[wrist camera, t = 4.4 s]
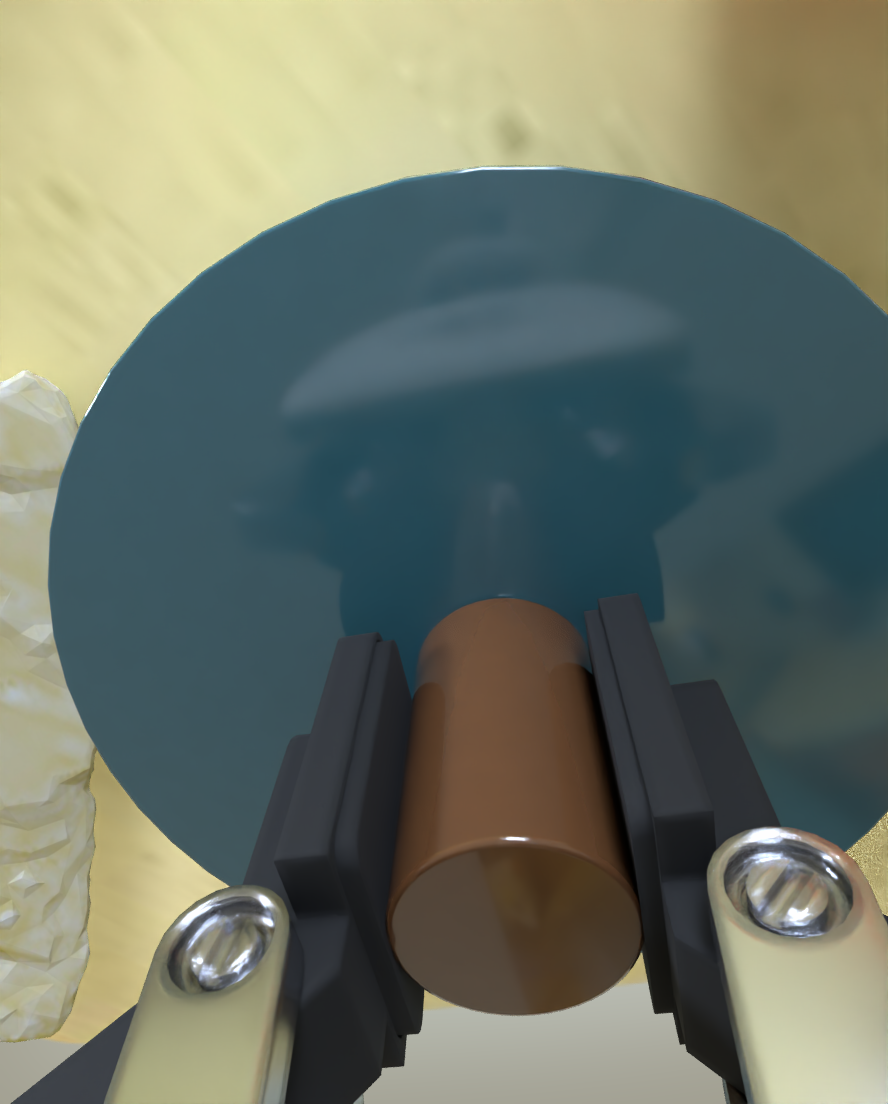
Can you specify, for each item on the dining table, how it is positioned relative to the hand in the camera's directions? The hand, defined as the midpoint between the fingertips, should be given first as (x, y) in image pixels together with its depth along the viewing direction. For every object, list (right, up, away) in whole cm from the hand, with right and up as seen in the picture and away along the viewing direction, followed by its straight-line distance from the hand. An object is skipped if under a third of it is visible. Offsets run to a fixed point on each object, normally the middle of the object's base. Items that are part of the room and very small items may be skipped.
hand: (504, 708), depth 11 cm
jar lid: (0, +1, +1) cm, 1 cm away
